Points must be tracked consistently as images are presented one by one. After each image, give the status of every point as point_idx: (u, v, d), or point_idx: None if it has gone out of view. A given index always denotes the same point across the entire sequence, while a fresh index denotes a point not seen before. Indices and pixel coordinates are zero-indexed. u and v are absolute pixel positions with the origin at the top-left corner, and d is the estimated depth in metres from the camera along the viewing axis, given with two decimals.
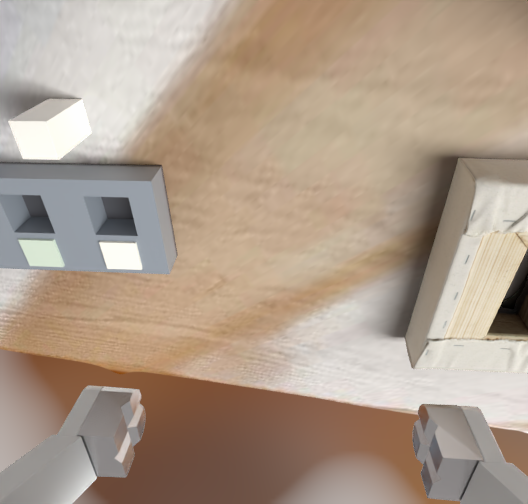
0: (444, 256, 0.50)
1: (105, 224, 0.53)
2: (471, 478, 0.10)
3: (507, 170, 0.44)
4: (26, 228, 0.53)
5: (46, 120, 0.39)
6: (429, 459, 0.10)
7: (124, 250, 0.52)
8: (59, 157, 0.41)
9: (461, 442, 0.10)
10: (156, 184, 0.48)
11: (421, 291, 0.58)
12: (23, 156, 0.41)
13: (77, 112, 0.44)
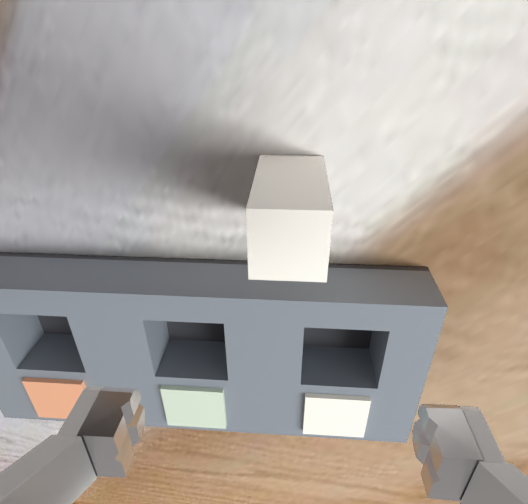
0: None
1: (304, 359, 0.31)
2: (470, 478, 0.10)
3: None
4: (172, 367, 0.31)
5: (328, 207, 0.18)
6: (429, 459, 0.10)
7: (346, 410, 0.30)
8: (326, 277, 0.20)
9: (461, 442, 0.10)
10: None
11: None
12: (251, 275, 0.20)
13: None
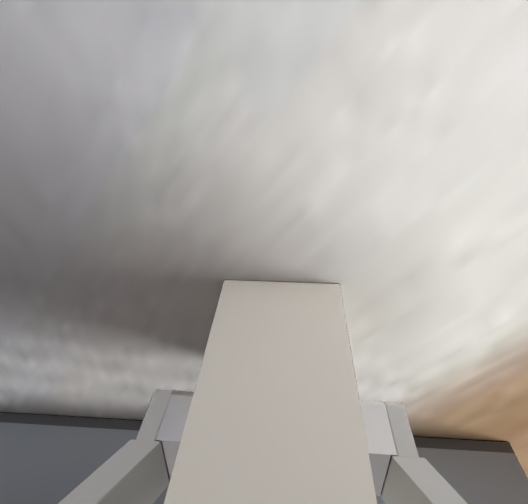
0: None
1: None
2: (387, 473, 0.10)
3: None
4: None
5: None
6: None
7: None
8: None
9: (378, 437, 0.10)
10: None
11: None
12: None
13: None
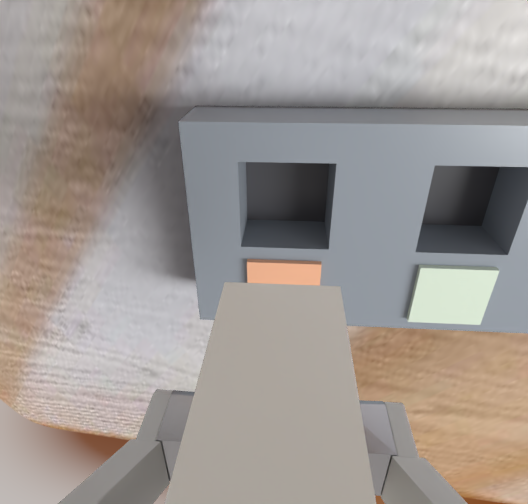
0: None
1: None
2: (387, 473, 0.10)
3: None
4: (428, 245, 0.26)
5: None
6: None
7: None
8: None
9: (378, 437, 0.10)
10: None
11: None
12: None
13: None
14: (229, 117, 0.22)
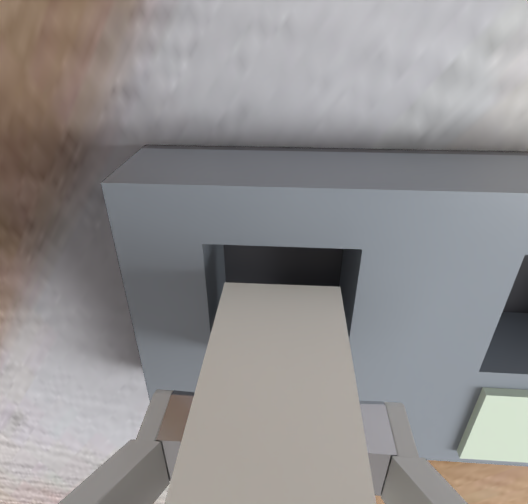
0: None
1: None
2: (387, 473, 0.10)
3: None
4: (496, 355, 0.17)
5: None
6: None
7: None
8: None
9: (378, 437, 0.10)
10: None
11: None
12: None
13: None
14: (188, 172, 0.14)
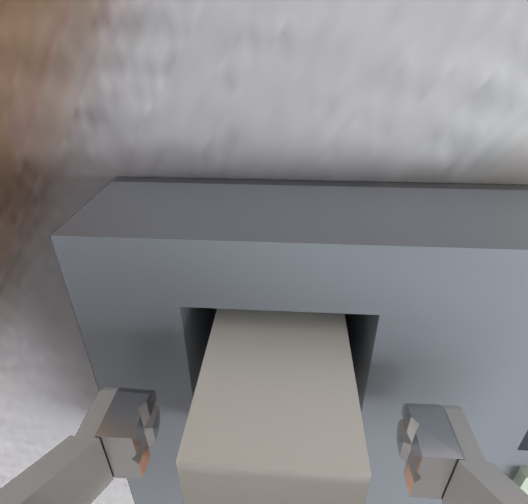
0: None
1: None
2: (451, 477, 0.10)
3: None
4: None
5: (359, 458, 0.08)
6: (411, 458, 0.10)
7: None
8: None
9: (442, 441, 0.10)
10: None
11: None
12: None
13: None
14: (162, 219, 0.11)
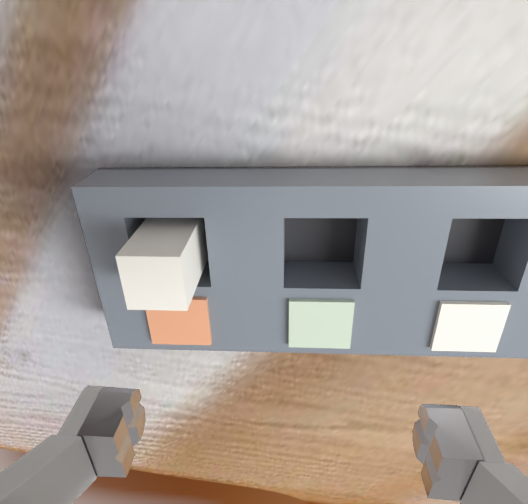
0: None
1: None
2: (470, 478, 0.10)
3: None
4: (298, 281, 0.30)
5: (178, 254, 0.24)
6: (429, 459, 0.10)
7: (483, 318, 0.29)
8: (187, 307, 0.26)
9: (461, 442, 0.10)
10: None
11: None
12: (129, 306, 0.26)
13: (201, 229, 0.30)
14: (116, 181, 0.27)
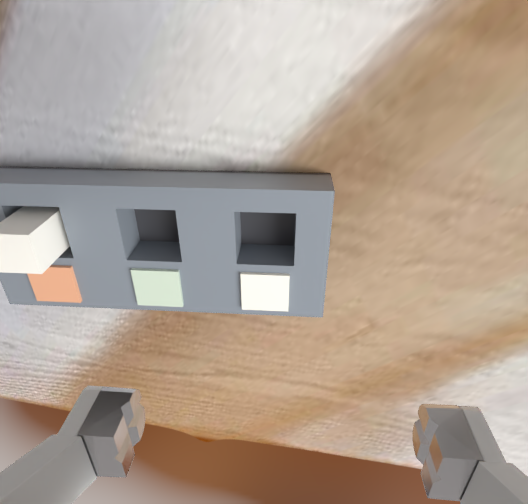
0: None
1: (242, 251, 0.41)
2: (471, 478, 0.10)
3: None
4: (140, 255, 0.40)
5: (28, 233, 0.34)
6: (429, 459, 0.10)
7: (272, 285, 0.39)
8: (42, 271, 0.36)
9: (461, 442, 0.10)
10: None
11: None
12: (0, 269, 0.36)
13: None
14: None
